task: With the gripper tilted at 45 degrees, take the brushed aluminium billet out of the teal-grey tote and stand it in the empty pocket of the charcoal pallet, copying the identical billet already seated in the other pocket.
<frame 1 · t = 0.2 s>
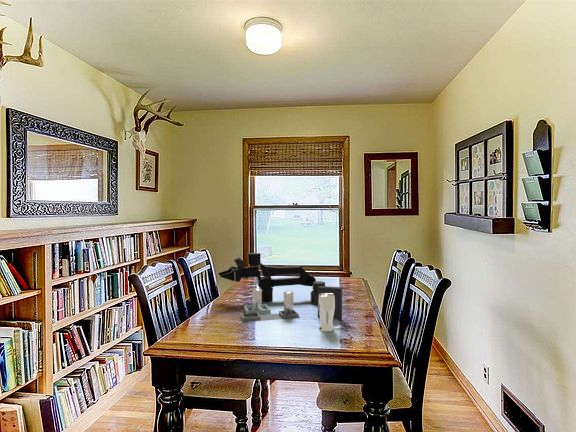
hand: (219, 274, 217), 16 cm above the table, tool horizontal, fingers open, 9 cm apart
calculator: (329, 319, 190), on the table
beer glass: (326, 330, 174), on the table
aluminium billet: (257, 311, 201), point 1 cm above the table, touching tote
pallet: (269, 319, 190), on the table
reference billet: (288, 315, 193), point 1 cm above the table, touching pallet
tote: (257, 313, 201), on the table
ink bottle: (318, 305, 218), on the table
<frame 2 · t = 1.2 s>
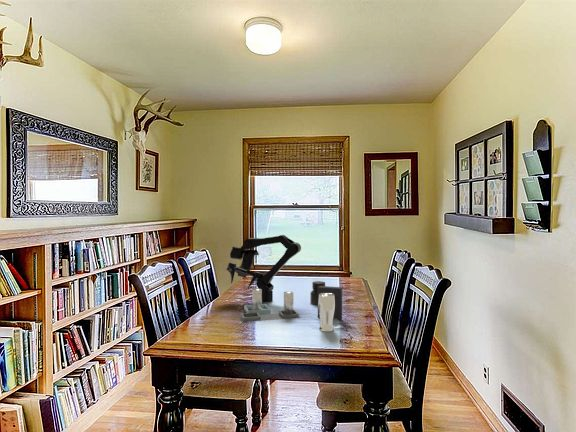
hand: (239, 285, 215), 11 cm above the table, tool tilted 40°, fingers open, 9 cm apart
nothing on the table moved.
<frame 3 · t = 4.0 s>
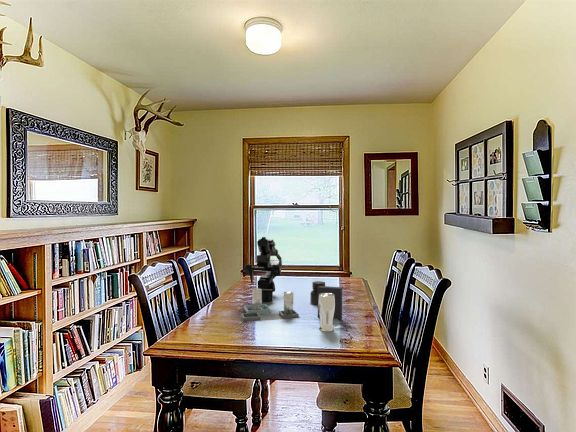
hand: (260, 282, 208), 13 cm above the table, tool tilted 45°, fingers open, 9 cm apart
nothing on the table moved.
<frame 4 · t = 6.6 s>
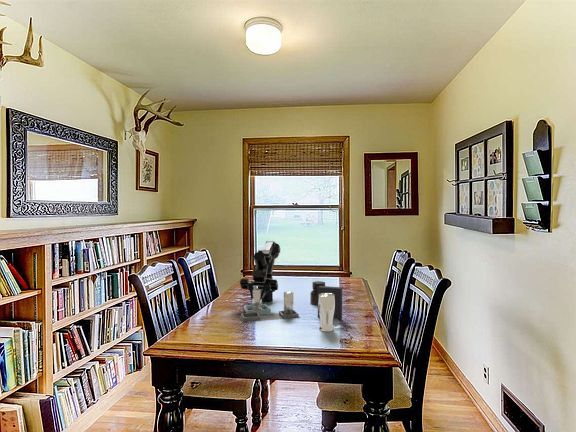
hand: (256, 298, 200), 7 cm above the table, tool tilted 45°, fingers closed on aluminium billet, 4 cm apart
aluminium billet: (257, 311, 201), point 1 cm above the table, touching gripper, tote
everything else where it was.
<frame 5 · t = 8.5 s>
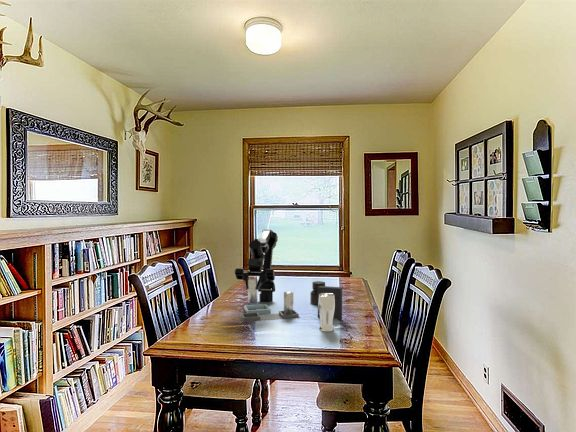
hand: (251, 288, 190), 14 cm above the table, tool tilted 45°, fingers closed on aluminium billet, 4 cm apart
aluminium billet: (252, 302, 192), point 7 cm above the table, touching gripper
everything else where it was.
when the fingers open (9 cm above the table, at t = 10.6 s): aluminium billet drops 1 cm, resting on pallet.
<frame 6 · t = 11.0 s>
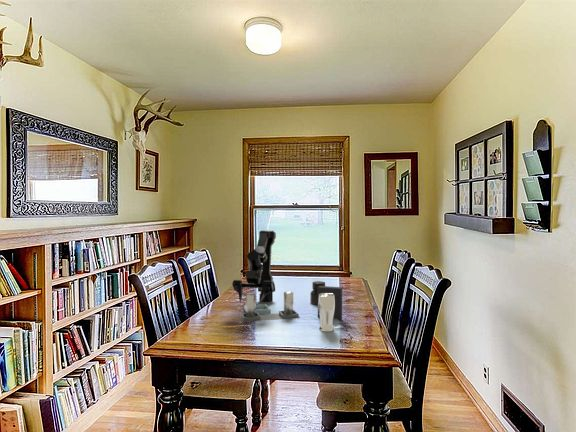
hand: (249, 301, 187), 9 cm above the table, tool tilted 45°, fingers open, 9 cm apart
aluminium billet: (250, 318, 188), point 1 cm above the table, touching pallet
everything else where it was.
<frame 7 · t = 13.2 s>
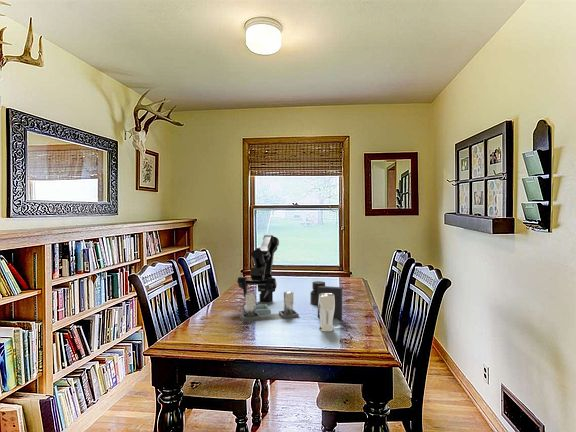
hand: (254, 297, 195), 9 cm above the table, tool tilted 45°, fingers open, 9 cm apart
nothing on the table moved.
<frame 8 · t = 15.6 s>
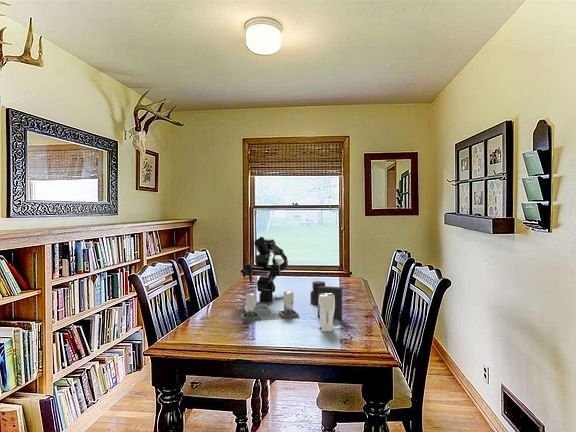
hand: (259, 282, 208), 14 cm above the table, tool tilted 45°, fingers open, 9 cm apart
nothing on the table moved.
at the end: aluminium billet 0.1 cm from the target spot on the pallet, point 1.0 cm above the pallet's base; aluminium billet tilted 0°; the gripper is holding nothing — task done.
